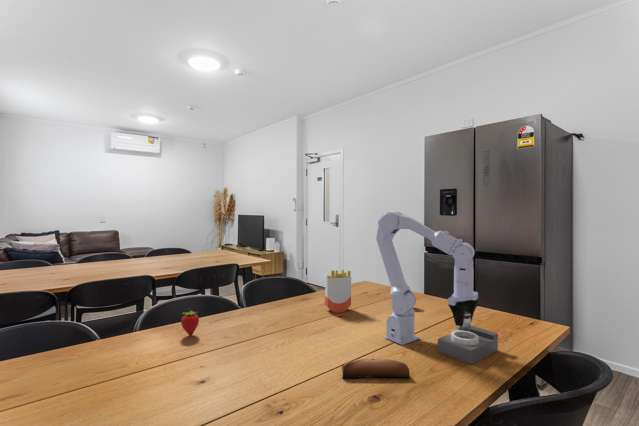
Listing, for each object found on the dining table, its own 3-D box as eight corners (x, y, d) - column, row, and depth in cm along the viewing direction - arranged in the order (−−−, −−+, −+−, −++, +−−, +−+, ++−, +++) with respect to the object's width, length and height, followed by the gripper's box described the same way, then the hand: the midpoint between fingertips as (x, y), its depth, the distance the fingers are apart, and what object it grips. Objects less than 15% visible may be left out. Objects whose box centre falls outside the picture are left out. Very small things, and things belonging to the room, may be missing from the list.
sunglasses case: (401, 364, 98) (404, 349, 94) (407, 387, 92) (411, 372, 88) (339, 364, 97) (340, 349, 94) (341, 388, 91) (342, 373, 88)
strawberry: (180, 340, 114) (180, 311, 114) (181, 332, 121) (181, 305, 121) (198, 338, 116) (198, 309, 116) (199, 331, 123) (199, 303, 123)
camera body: (471, 364, 98) (471, 345, 98) (437, 351, 107) (437, 334, 106) (497, 350, 107) (497, 333, 107) (465, 339, 116) (465, 323, 116)
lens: (465, 331, 104) (465, 315, 104) (452, 327, 108) (452, 312, 108) (473, 328, 107) (473, 313, 107) (460, 324, 111) (460, 309, 111)
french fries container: (324, 309, 150) (324, 269, 149) (347, 307, 153) (347, 268, 152) (327, 312, 145) (327, 271, 145) (351, 310, 148) (351, 269, 148)
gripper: (463, 286, 100) (462, 332, 100) (487, 280, 108) (487, 322, 109) (441, 282, 105) (441, 325, 105) (466, 276, 114) (466, 316, 114)
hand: (463, 323), depth 107 cm, fingers closed on lens, 4 cm apart
